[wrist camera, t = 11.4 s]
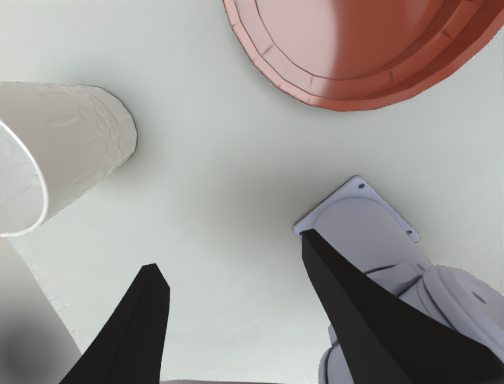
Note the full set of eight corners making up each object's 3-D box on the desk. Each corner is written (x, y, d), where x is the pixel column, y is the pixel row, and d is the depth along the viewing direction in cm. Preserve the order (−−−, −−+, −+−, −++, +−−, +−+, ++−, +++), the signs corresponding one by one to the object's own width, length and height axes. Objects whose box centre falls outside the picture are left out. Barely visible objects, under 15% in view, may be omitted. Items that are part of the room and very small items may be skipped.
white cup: (80, 52, 18) (-115, 31, 9) (162, 131, 20) (75, 178, 11) (37, 124, 20) (-144, 164, 12) (114, 186, 23) (13, 259, 14)
